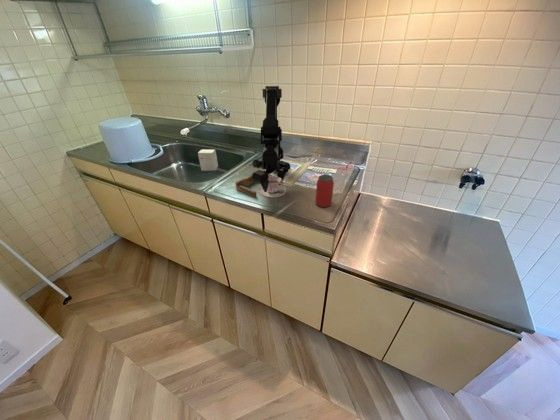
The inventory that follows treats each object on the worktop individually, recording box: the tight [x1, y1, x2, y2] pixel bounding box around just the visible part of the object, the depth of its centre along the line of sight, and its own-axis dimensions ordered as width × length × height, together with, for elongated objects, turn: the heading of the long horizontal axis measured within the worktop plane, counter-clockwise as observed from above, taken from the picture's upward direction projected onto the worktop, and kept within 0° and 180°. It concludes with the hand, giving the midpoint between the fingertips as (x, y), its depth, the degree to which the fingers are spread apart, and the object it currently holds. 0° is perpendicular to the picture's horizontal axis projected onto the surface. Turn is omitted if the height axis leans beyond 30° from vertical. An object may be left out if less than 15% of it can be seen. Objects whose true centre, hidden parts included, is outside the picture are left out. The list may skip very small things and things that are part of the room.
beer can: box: [315, 174, 335, 208], centre depth 99 cm, size 7×7×12 cm
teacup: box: [259, 175, 287, 199], centre depth 111 cm, size 12×12×6 cm
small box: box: [197, 149, 219, 172], centre depth 132 cm, size 8×6×10 cm
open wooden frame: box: [235, 169, 273, 198], centre depth 116 cm, size 18×12×4 cm, turn 139°
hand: (272, 188), depth 110 cm, fingers open, 9 cm apart
